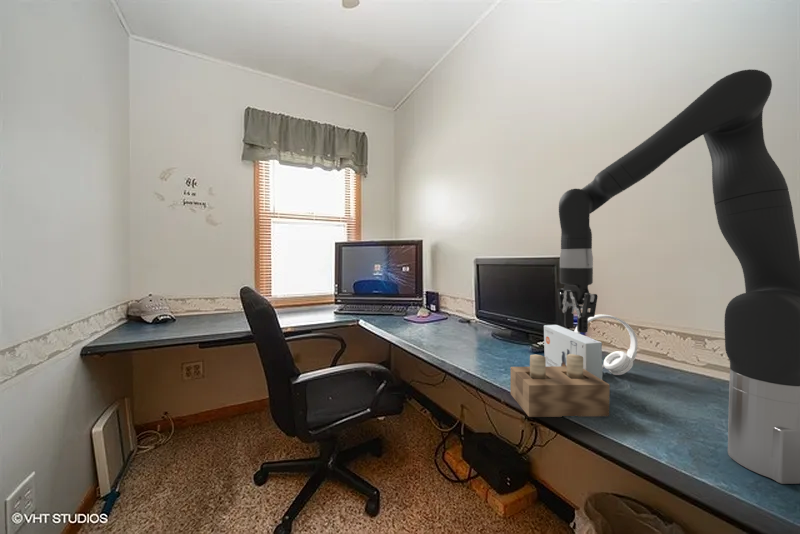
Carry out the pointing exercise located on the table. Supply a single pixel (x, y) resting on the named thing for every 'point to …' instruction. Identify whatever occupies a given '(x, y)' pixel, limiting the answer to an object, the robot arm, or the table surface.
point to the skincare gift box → (571, 348)
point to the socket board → (559, 393)
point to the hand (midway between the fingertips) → (575, 329)
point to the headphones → (619, 359)
